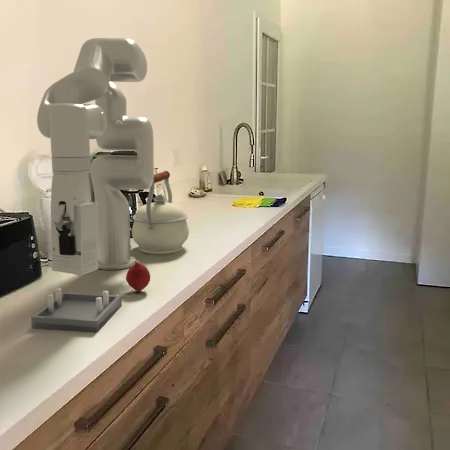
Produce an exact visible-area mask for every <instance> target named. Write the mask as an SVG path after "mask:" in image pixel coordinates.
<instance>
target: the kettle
mask: <svg viewBox="0 0 450 450" xmlns="http://www.w3.org/2000/svg"><path fill="white" fill-rule="evenodd" d="M170 176H171V174H170V171H168V170H163V171H162V172H158V173H155V174H154V177H153V183H152V185H151V187H150V188H149V191H148V195H147V200H146V204H143V205H142V206H140V207H139V208H138V209H137V210H136V212H135V214H134V215H132V219H133V225H132V230H131V236H132V239H133V241H134V242H135V244H137V246H138V250H139V251H140V252H142V253H144V254H148V255H169V254H175V253H177V252H179V251H182V249H183V245H184V243H186V241H187V239H188V238H189V231H190V230H189V225H188V223H187V219H188V218H189V217H188V214H186V213H185V211H184V210H183V208H182V207H181V206H180V205H177V204H175V203H173V193H172V190H171V185H170V179H169V178H170ZM162 181H164V185H165V188H166V192H167V199H166V197H165V196H164V195H162V194H158V195H156V196H155V197H154V199H153V196H154V192H155V184H156V183H160V182H162ZM152 201H154V202H152ZM166 201H167V202H166Z"/></svg>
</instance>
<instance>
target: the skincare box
mask: <svg viewBox="0 0 450 450" xmlns="http://www.w3.org/2000/svg"><path fill="white" fill-rule="evenodd" d="M64 220H70V218H67V219H64ZM64 225H65V224H64ZM66 226H67V228H68V229H69V225H66ZM57 232H58V231H57V230H56V226H55V224H54V222H53V220H52V216H51V215H50V239H51V240H50V245H51V246H50V249H51V250H50V251H51V252H50V254H51V256H50V257H51V260H50V261H51V271H53V272H57V273H58V272H60V273H65V274H71V275H76V276H83V275H87V274H89V273H92V272H94V271H97V270H99V268H98V203H95V201H91V202H89V201H87V202H84V203H82V204H79V205H77V206H76V222H75V223H74V229H73V235H72V236H75V252H76V254H75V255H60V252H59V236H58V235H57Z"/></svg>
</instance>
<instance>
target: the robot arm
mask: <svg viewBox="0 0 450 450" xmlns="http://www.w3.org/2000/svg"><path fill="white" fill-rule="evenodd" d="M78 53H79V54H78V57H77V60H76V61H75V66H74V69H73V72H70V73H69V74H66V75H65V76H64V77H62V78H60V79H59V80H57V81H56V82H53V83H52V84H51V85H50V86H49V87H48V88H47V89H46V90H45V92H44V93H43V96H42V98H41V101H40V104H39V107H38V111H37V115H36V118H37V119H36V121H37V123H36V124H37V128H38V130H39V132H40V134H41V135H42V136H43V137H44V138H45V137H46V138H47V139H50V154H51V168H52V169H51V171H52V172H51V173H52V177H51V189H50V190H51V191H50V192H51V193H50V217H51V216H52V220H53V222H54V224H55V226H56V230H57V231H58V232H57V235H58V236H59V252H60V255H75V254H76V252H75V236H72V235H73V229H74V223H75V222H76V206H77V205H79V204H82V203H84V202H87V201H89V202H92V193H91V183H90V180H91V182H92V189H93V195H94V202H95V203H98V270H105V271H106V270H109V271H110V270H111V271H112V270H122V269H123V270H124V269H128V268H131V267H132V266H133V265H134V264H135V261H136V260H137V259H136V257H134V256H132V253H131V249H132V245H131V228H130V227H131V225H130V223H131V217H130V204H129V201H128V199H127V198H126V196H125V195H124V194H123V193H122V191H124V190H148V189H150V187H151V185H152V183H153V177H154V175H155V174H154V172H155V171H154V168H155V167H154V162H155V161H154V156H155V155H154V130H153V126H152V122H151V121H150V120H149V119H148V118H146V117H143V116H128V115H127V98H126V96H125V95H124V93H123V92H122V91H121V88H119V87H118V85H116V83H117V82H118V83H122V82H123V83H139V82H142V81H144V79H145V78H146V76H147V72H148V62H147V61H148V60H147V58H146V55H145V52H144V51H143V50H142V48H141V47H140V46H139V44H138V43H137V42H136V41H135V40H132V39H130V38H120V37H116V38H114V37H111V38H110V37H109V38H107V37H95V38H91V39H88V40H86V41H84V42H83V44H82V45H81V48H80V51H79V52H78ZM114 82H116V83H114ZM92 101H94V103H95V104H93V103H89V102H92ZM90 140H95V141H96V144H97V146H98V148H100V149H101V150H105V151H115V152H116V151H117V152H119V151H121V152H124V151H125V152H126V151H129V152H135V153H136V154H137V155H122V154H119V155H115V154H114V155H113V154H112V155H110V154H109V155H108V154H107V155H100V156H96V157H95V158H94V159H93V160H92V161H91V152H90V151H91V148H90ZM89 174H90V175H89ZM90 178H91V179H90ZM121 190H122V191H121ZM67 218H70V220H64V219H67ZM64 224H65V225H64ZM66 225H69V229H68V228H67V226H66Z"/></svg>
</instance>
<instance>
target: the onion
mask: <svg viewBox="0 0 450 450" xmlns="http://www.w3.org/2000/svg"><path fill="white" fill-rule="evenodd" d="M125 279H126V283H127V284H128V286H129V287H131V289H133V290H134V291H135V292H137V293H140V292H141V291H143V290H144V289H146V288H147V287H148V286H149V283H150V281H151V273H150V271H149V269H148V268H147V267H146V266H145V265H144V264H142V263H141V262H140V261H139V260H137V259H136V261H135V264H134V265H133V266H131V267H129V269H128V270H127V273H126V277H125Z"/></svg>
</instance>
